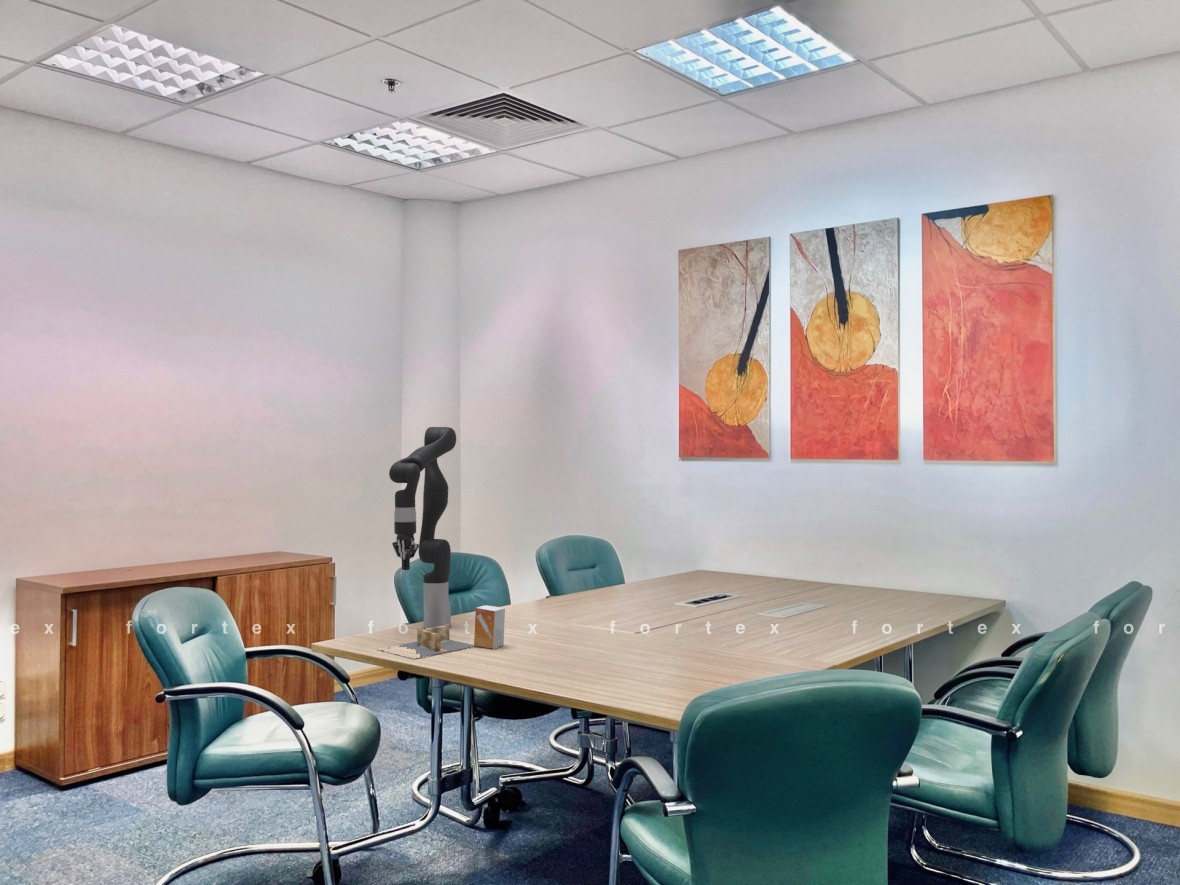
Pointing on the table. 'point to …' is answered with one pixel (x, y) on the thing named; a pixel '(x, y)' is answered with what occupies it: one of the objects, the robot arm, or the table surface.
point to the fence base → (441, 629)
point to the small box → (489, 626)
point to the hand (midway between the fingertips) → (405, 569)
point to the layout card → (445, 647)
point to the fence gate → (431, 640)
